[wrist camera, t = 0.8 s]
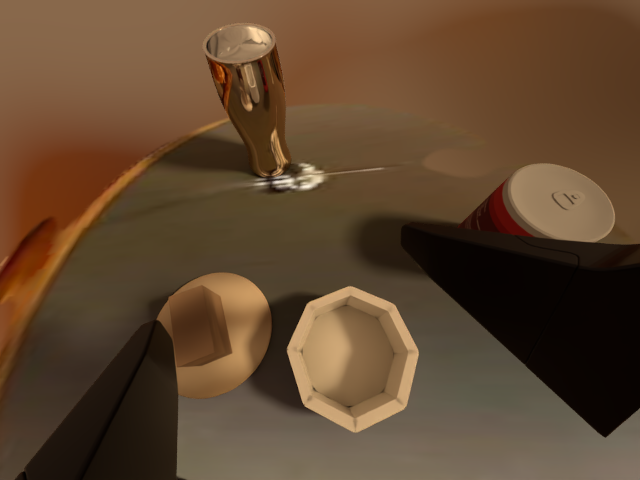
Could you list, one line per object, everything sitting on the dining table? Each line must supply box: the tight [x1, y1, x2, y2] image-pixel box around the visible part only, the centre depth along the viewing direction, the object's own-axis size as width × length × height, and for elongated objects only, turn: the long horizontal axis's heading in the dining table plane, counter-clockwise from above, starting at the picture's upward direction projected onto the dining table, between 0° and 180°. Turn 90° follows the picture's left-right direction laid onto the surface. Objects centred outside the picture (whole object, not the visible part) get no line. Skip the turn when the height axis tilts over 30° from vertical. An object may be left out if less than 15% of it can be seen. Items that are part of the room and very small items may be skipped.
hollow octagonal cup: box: [287, 286, 419, 433], centre depth 22 cm, size 10×10×5 cm
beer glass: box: [203, 23, 291, 178], centre depth 29 cm, size 7×7×15 cm
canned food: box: [457, 163, 615, 243], centre depth 24 cm, size 8×8×11 cm
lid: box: [156, 273, 272, 399], centre depth 23 cm, size 12×12×6 cm
